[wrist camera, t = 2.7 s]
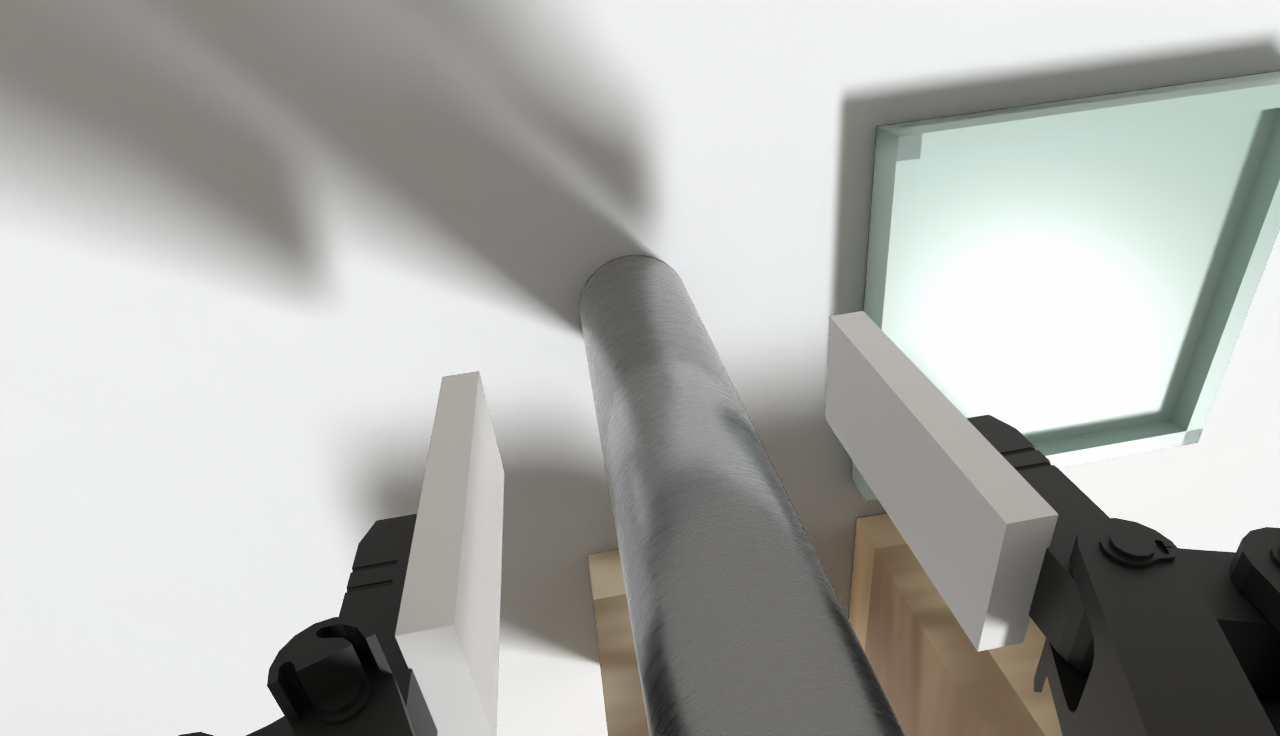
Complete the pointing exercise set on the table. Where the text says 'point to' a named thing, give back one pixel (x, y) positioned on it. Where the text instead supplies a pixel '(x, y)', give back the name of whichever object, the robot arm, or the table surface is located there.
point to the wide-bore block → (938, 650)
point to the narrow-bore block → (616, 648)
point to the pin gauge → (711, 534)
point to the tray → (1079, 258)
